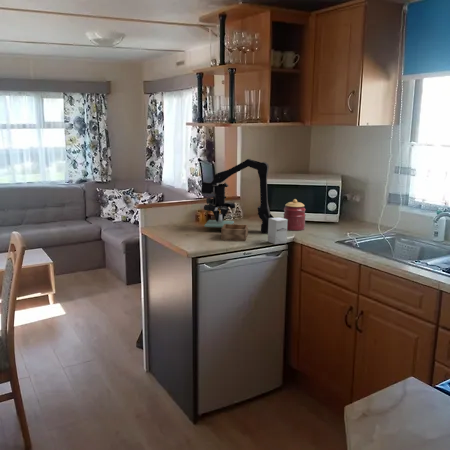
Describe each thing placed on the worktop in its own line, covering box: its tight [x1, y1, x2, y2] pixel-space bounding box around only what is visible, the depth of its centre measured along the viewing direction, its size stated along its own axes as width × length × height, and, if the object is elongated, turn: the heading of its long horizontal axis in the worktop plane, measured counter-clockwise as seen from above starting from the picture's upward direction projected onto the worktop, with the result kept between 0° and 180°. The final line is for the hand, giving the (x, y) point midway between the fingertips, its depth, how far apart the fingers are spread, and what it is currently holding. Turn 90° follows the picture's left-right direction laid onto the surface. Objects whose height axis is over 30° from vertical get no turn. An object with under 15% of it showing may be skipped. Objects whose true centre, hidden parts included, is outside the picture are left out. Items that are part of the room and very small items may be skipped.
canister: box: [283, 198, 307, 232], centre depth 280 cm, size 13×13×18 cm
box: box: [220, 223, 249, 242], centre depth 256 cm, size 13×13×6 cm
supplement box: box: [267, 217, 288, 245], centre depth 247 cm, size 7×7×13 cm
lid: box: [204, 213, 235, 228], centre depth 274 cm, size 15×15×6 cm
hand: (219, 221), depth 275 cm, fingers closed on lid, 3 cm apart
